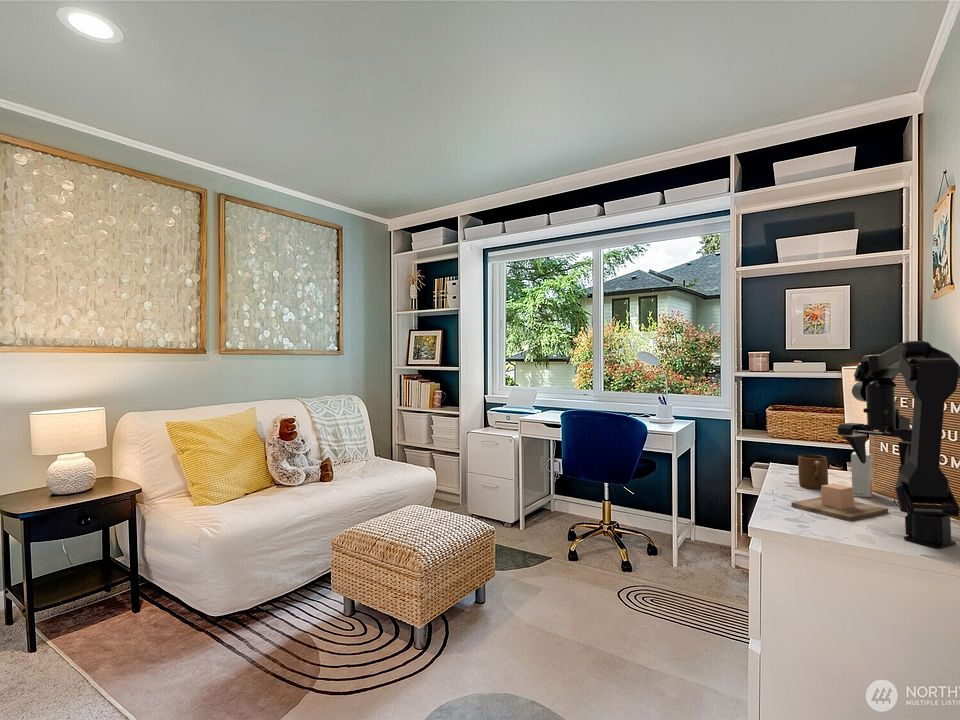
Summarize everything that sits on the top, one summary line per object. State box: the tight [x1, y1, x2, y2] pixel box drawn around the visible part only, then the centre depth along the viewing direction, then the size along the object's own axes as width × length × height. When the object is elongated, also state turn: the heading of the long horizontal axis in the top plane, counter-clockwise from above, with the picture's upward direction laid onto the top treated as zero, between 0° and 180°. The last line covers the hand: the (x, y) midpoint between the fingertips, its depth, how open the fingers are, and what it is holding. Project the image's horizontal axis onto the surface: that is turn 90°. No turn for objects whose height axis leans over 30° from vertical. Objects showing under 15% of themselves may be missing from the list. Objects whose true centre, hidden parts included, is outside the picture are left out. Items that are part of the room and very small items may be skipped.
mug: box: [797, 454, 829, 491], centre depth 155 cm, size 12×8×9 cm, turn 160°
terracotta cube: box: [821, 483, 855, 509], centre depth 134 cm, size 5×5×5 cm
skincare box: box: [850, 451, 873, 498], centre depth 147 cm, size 6×4×12 cm
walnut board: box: [790, 496, 889, 522], centre depth 134 cm, size 15×15×1 cm
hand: (883, 466), depth 129 cm, fingers open, 9 cm apart
